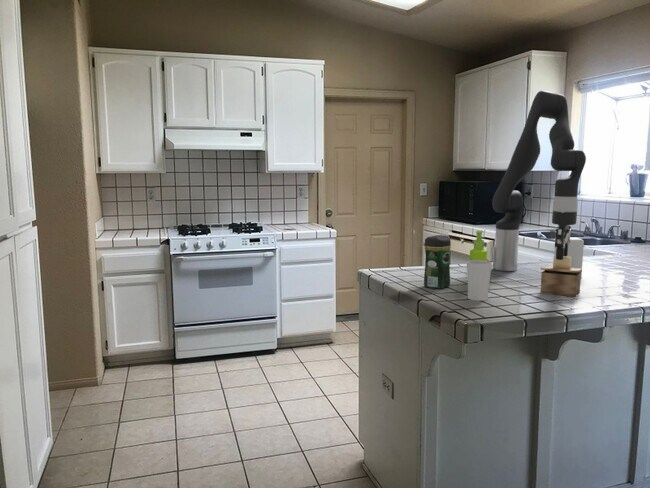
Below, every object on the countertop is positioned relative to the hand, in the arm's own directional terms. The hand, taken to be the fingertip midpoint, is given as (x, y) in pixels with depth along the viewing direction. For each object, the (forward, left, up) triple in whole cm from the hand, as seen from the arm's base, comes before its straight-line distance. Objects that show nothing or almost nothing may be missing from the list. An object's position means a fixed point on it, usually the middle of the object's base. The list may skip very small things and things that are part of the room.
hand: (561, 257), depth 182 cm
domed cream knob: (0, 0, -4) cm, 4 cm away
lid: (0, 0, -5) cm, 5 cm away
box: (0, 0, -12) cm, 12 cm away
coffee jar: (-39, -14, -12) cm, 43 cm away
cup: (-21, -24, -12) cm, 34 cm away
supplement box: (-3, +34, -12) cm, 36 cm away
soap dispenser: (-27, -5, -12) cm, 30 cm away
